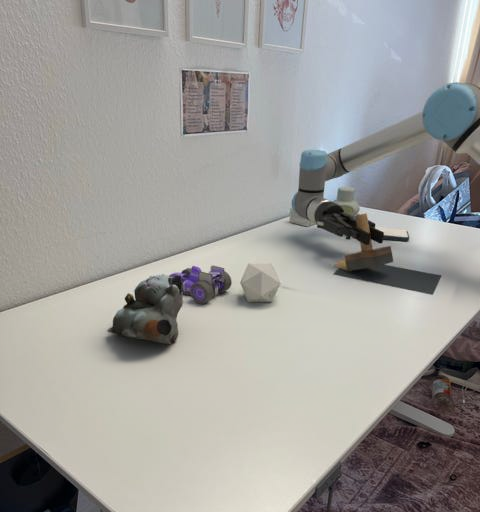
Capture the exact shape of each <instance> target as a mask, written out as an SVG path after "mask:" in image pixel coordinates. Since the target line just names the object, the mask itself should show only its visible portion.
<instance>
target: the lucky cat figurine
mask: <svg viewBox="0 0 480 512" xmlns="http://www.w3.org/2000/svg"><path fill="white" fill-rule="evenodd" d="M181 289H183V286H182V282H181V275H178V276H175V277H174V278H172V277H169V275H167V274H156V275H149V277H148V278H146V279H144V280H142V281H140V282H139V283H137V285H136V286H135V288H134V290H133V292H134V295H133V294H131V293H130V292H129V293H127V294H126V295H125V297H124V301H125V303H126V304H124V305H123V307H122V308H120V309H119V310H117V311H116V313H115V315H114V316H113V318H112V326H111V327H109V328H108V329H106V332H107V333H111V334H115V335H118V336H120V337H127V338H132V339H137V340H147V341H151V342H154V343H160V344H168V345H169V344H170V345H173V344H175V343H176V340H177V339H178V337H179V327H178V321H177V318H178V314H179V312H180V311H181V309H182V308H183V304H184V299H183V297H184V296H183V295H184V294H182V292H181Z"/></svg>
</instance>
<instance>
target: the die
mask: <svg viewBox="0 0 480 512" xmlns="http://www.w3.org/2000/svg"><path fill="white" fill-rule="evenodd" d="M239 283H240V285H241V288H242V291H243V293H244V296H245V298H246V300H247V303H273V300H274V298H275V297H276V294H277V292H278V289H279V288H280V286H281V283H282V282H281V281H280V279H279V276H278V274H277V272H276V269H275V267H274V265H273V263H247V266H246V268H245V270H244V273H243V275H242V277H241V280H240V281H239Z"/></svg>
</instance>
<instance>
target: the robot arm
mask: <svg viewBox="0 0 480 512" xmlns="http://www.w3.org/2000/svg"><path fill="white" fill-rule="evenodd" d="M432 139H435V140H437V141H442V142H444V143H445V145H447V146H448V147H449V148H451V150H452V151H453V152H455V153H456V154H467V155H468V156H470V157H471V159H473V160H474V161H475V162H476V163H477V164H478V165H479V166H480V87H479V86H478V85H477V84H474V83H467V82H465V83H462V82H458V81H456V82H450V83H446V84H444V85H442V86H441V87H438V88H437V89H436V90H435V91H433V92H432V93H431V95H429V97H428V98H427V100H426V101H425V103H424V105H423V109H422V111H420V112H418V113H415V114H414V115H412V116H408V117H407V118H405V119H402V120H399V121H398V122H396V123H393V124H391V125H389V126H387V127H384V128H383V129H380V130H378V131H375V132H374V133H371V134H369V135H367V136H364V137H363V138H360V139H358V140H356V141H353V142H351V143H350V144H347V145H345V146H343V147H341V148H338V149H335V150H333V151H331V152H328V153H327V152H326V151H325V150H322V149H305V150H303V151H302V152H301V153H300V161H299V173H298V189H297V192H295V193H294V194H293V197H292V199H291V207H292V209H293V210H294V212H295V213H297V214H298V215H299V216H300V217H303V218H305V219H307V220H309V221H311V222H313V223H314V225H316V227H317V229H321V230H325V231H327V232H329V233H331V234H333V235H335V236H338V237H341V238H343V237H344V236H345V240H347V241H349V240H351V238H352V239H354V240H355V241H358V242H359V243H360V242H361V243H363V244H365V245H369V242H370V235H371V241H374V242H375V243H377V244H383V241H384V239H383V236H384V232H382V231H380V230H378V229H375V227H376V222H373V221H372V220H369V219H368V224H369V229H370V233H368V232H366V231H364V230H362V229H360V228H358V227H357V223H356V218H355V216H351V215H348V214H347V213H345V212H344V210H343V208H342V207H341V206H340V205H338V204H336V203H334V202H332V201H333V200H329V199H327V198H325V197H324V194H325V185H326V182H328V181H330V180H334V179H338V178H340V177H342V176H345V175H347V174H349V173H350V172H353V171H355V170H359V169H361V168H363V167H366V166H368V165H371V164H373V163H376V162H378V161H380V160H383V159H385V158H389V157H390V156H393V155H395V154H398V153H400V152H403V151H405V150H408V149H410V148H412V147H415V146H418V145H420V144H422V143H425V142H428V141H430V140H432ZM357 215H361V214H359V213H358V214H357Z"/></svg>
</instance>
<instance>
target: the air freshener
mask: <svg viewBox="0 0 480 512" xmlns="http://www.w3.org/2000/svg"><path fill="white" fill-rule="evenodd" d="M355 192H356V189H355V188H354V187H350V186H340V187H338V188H337V194H336V199H334V200H331V201H332V202H334V203H336V204H338V205H340V206H341V207H342V208H343V210H344V212H345V213H347V214H348V215H351V216H353V217H355V216H356V215H357V214H359V213H360V211H361V210H360V205H359V203H358V202H357V201H356V200H355Z"/></svg>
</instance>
